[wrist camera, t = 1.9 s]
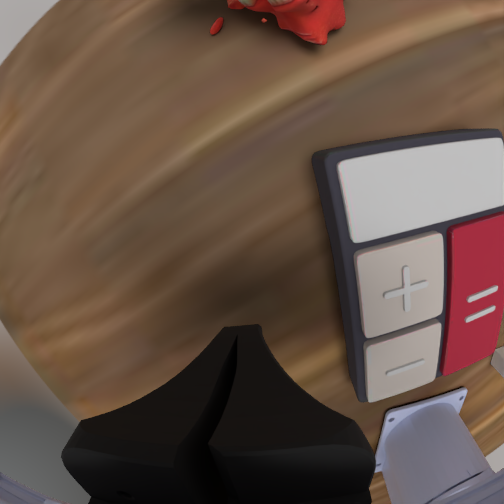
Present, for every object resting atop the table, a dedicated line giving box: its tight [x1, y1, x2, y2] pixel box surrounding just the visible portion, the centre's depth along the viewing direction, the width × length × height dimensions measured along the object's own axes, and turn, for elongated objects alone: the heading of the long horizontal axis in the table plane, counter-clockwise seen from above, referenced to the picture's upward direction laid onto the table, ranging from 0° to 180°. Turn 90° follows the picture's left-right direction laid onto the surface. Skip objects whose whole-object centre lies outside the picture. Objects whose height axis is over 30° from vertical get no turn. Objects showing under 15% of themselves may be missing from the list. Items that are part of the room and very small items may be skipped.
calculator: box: [312, 129, 504, 402], centre depth 15 cm, size 11×4×15 cm
